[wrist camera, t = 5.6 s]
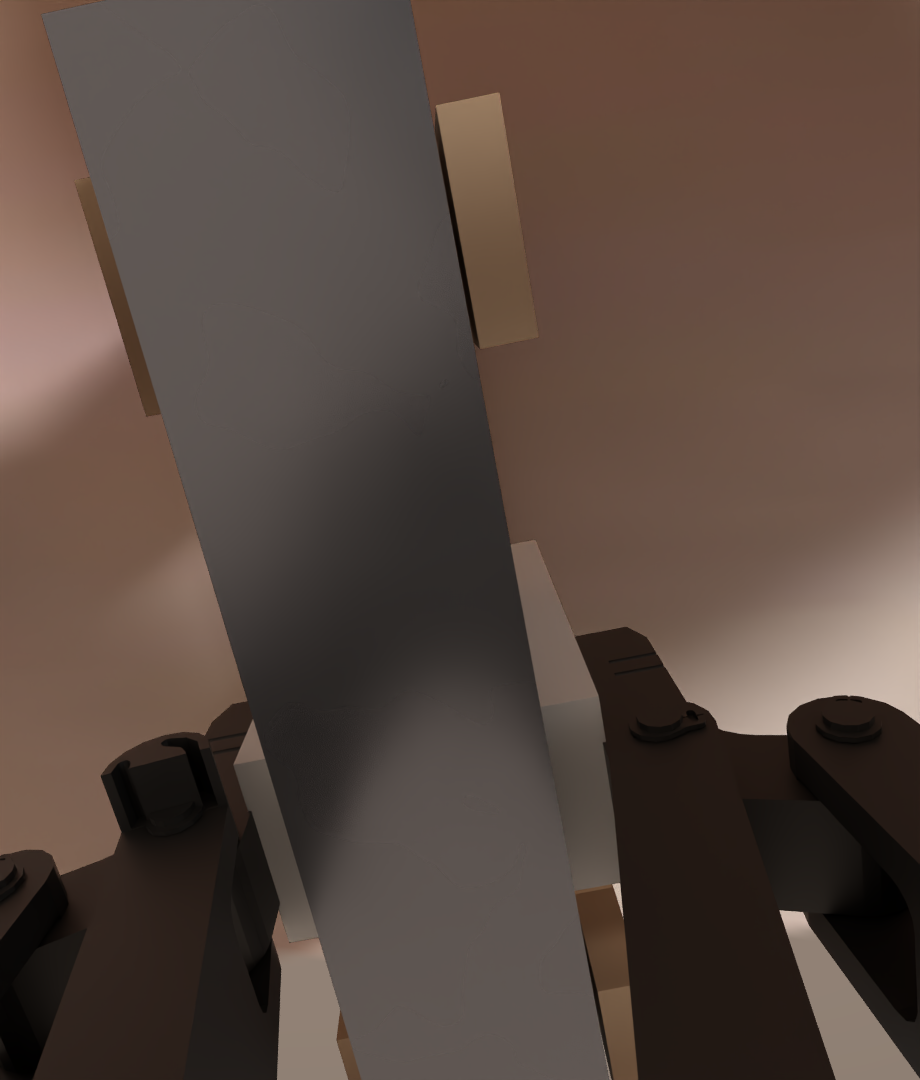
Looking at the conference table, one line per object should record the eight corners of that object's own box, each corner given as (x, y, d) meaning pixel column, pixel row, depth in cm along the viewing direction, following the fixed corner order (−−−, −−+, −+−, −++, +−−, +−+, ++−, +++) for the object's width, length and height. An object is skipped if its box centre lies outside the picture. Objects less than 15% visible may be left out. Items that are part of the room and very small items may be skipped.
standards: (240, 216, 20) (61, 136, 10) (460, 170, 20) (492, 47, 10) (399, 841, 25) (380, 1184, 15) (574, 808, 25) (667, 1132, 15)
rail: (205, 130, 12) (41, 14, 7) (414, 87, 11) (398, -63, 7) (452, 1086, 17) (458, 1403, 12) (596, 1060, 17) (662, 1370, 12)
